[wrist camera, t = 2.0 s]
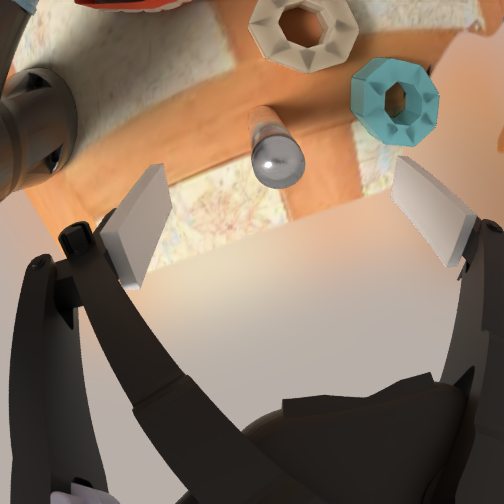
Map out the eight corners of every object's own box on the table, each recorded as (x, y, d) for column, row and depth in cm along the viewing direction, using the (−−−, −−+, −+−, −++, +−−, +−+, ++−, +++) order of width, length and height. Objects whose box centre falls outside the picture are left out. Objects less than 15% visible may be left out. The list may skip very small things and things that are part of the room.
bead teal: (349, 133, 27) (360, 142, 25) (351, 53, 22) (364, 53, 19) (417, 139, 27) (432, 149, 25) (423, 68, 22) (440, 71, 19)
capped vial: (248, 134, 28) (253, 191, 16) (246, 105, 26) (250, 141, 15) (278, 132, 27) (305, 188, 16) (277, 104, 26) (306, 139, 15)
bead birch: (276, 82, 24) (280, 84, 21) (235, 7, 19) (234, 0, 16) (356, 55, 22) (370, 55, 19) (320, -19, 17) (330, -28, 14)
